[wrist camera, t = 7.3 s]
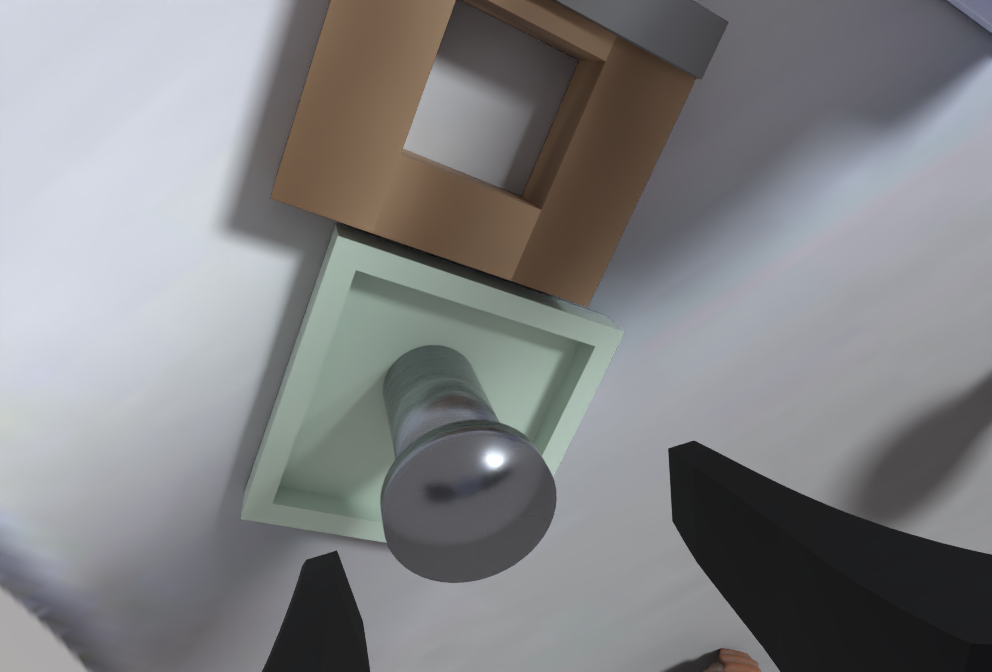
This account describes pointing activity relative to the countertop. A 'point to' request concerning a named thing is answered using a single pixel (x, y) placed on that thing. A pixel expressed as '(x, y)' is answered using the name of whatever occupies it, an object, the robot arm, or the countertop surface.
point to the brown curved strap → (733, 662)
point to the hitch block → (561, 163)
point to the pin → (457, 474)
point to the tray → (379, 343)
